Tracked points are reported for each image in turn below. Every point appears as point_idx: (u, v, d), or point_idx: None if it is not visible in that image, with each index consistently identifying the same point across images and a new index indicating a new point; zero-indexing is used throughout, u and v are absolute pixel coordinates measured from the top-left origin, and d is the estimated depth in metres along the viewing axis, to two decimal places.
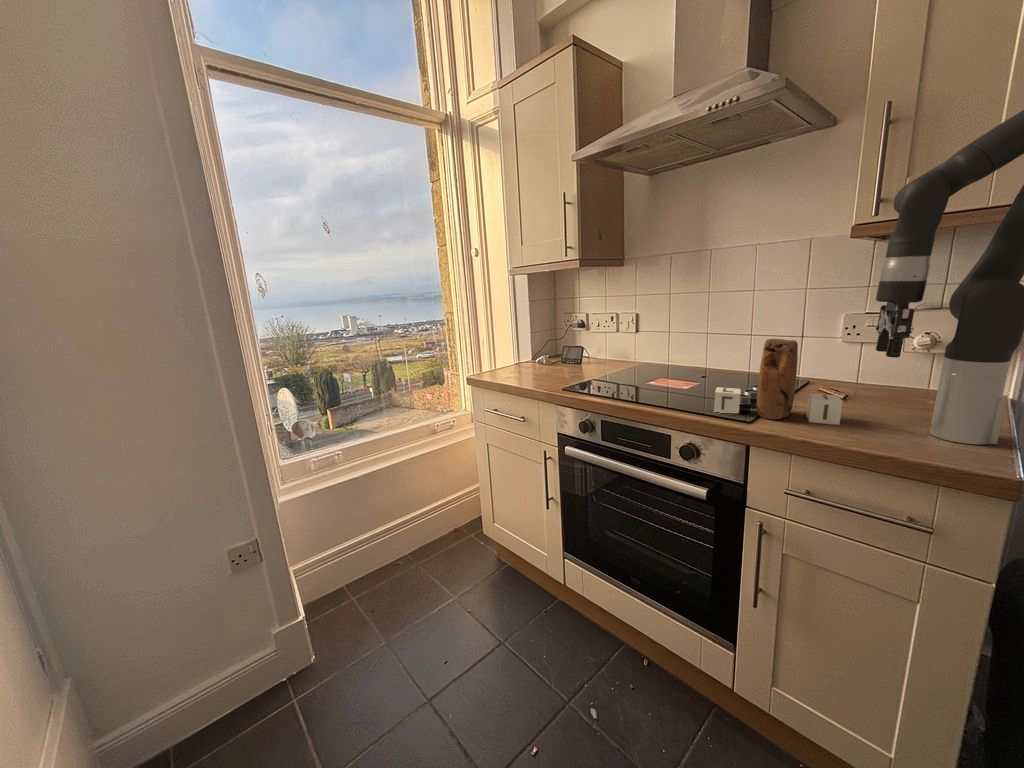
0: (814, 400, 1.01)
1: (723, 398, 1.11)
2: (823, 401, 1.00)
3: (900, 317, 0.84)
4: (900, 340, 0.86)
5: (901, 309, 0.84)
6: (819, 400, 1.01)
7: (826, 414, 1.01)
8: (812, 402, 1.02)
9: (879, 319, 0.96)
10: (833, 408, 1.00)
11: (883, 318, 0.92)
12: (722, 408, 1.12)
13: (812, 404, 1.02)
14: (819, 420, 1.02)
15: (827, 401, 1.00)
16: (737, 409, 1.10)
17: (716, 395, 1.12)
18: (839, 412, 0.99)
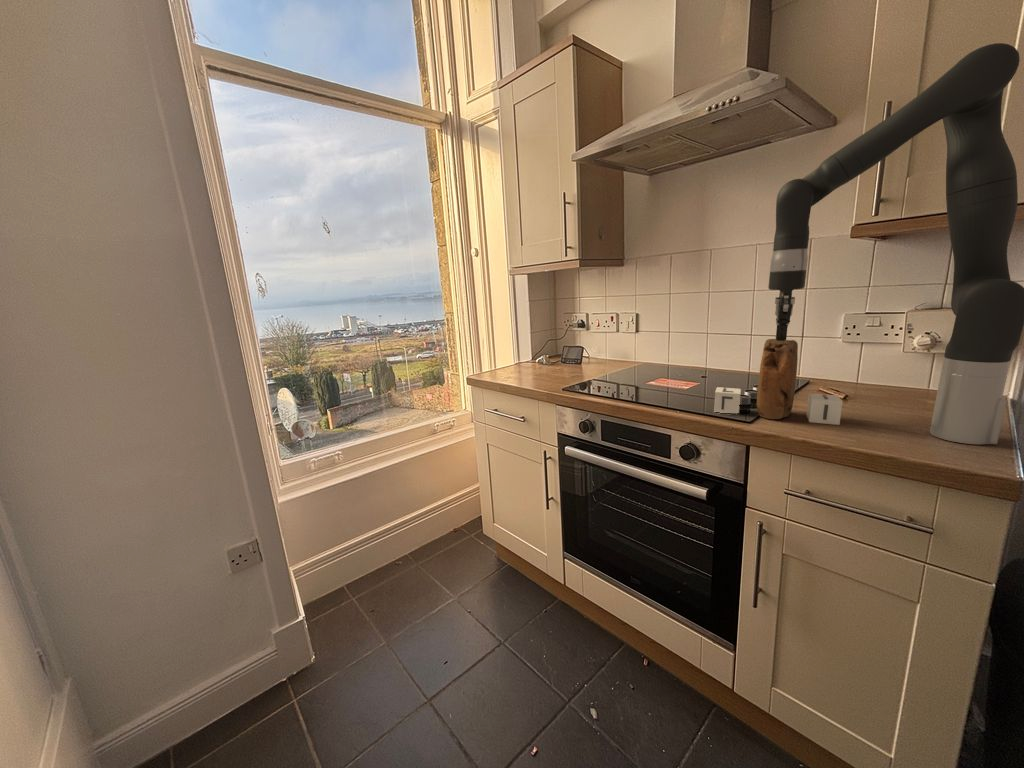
0: (814, 400, 1.01)
1: (723, 398, 1.11)
2: (823, 401, 1.00)
3: (781, 312, 0.99)
4: (784, 326, 1.02)
5: (782, 306, 0.98)
6: (819, 400, 1.01)
7: (826, 414, 1.01)
8: (812, 402, 1.02)
9: None
10: (833, 408, 1.00)
11: None
12: (722, 408, 1.12)
13: (812, 404, 1.02)
14: (819, 420, 1.02)
15: (827, 401, 1.00)
16: (737, 409, 1.10)
17: (716, 395, 1.12)
18: (839, 412, 0.99)
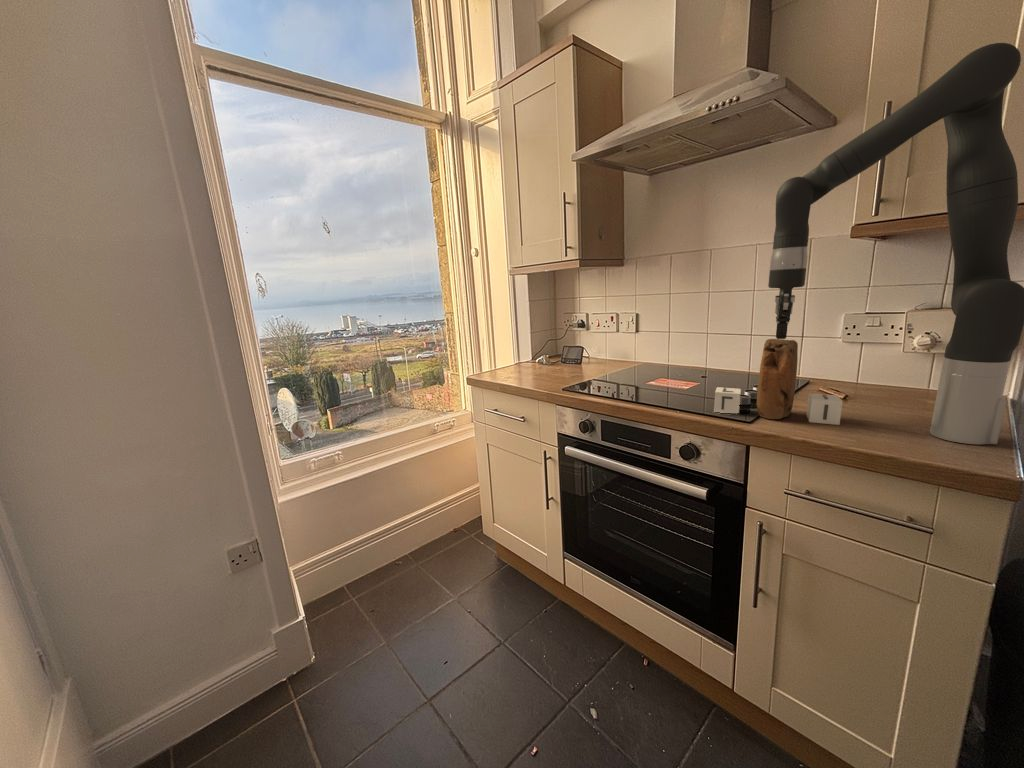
0: (814, 400, 1.01)
1: (723, 398, 1.11)
2: (823, 401, 1.00)
3: (781, 310, 0.99)
4: (784, 324, 1.02)
5: (782, 304, 0.98)
6: (819, 400, 1.01)
7: (826, 414, 1.01)
8: (812, 402, 1.02)
9: None
10: (833, 408, 1.00)
11: None
12: (722, 408, 1.12)
13: (812, 404, 1.02)
14: (819, 420, 1.02)
15: (827, 401, 1.00)
16: (737, 409, 1.10)
17: (716, 395, 1.12)
18: (839, 412, 0.99)
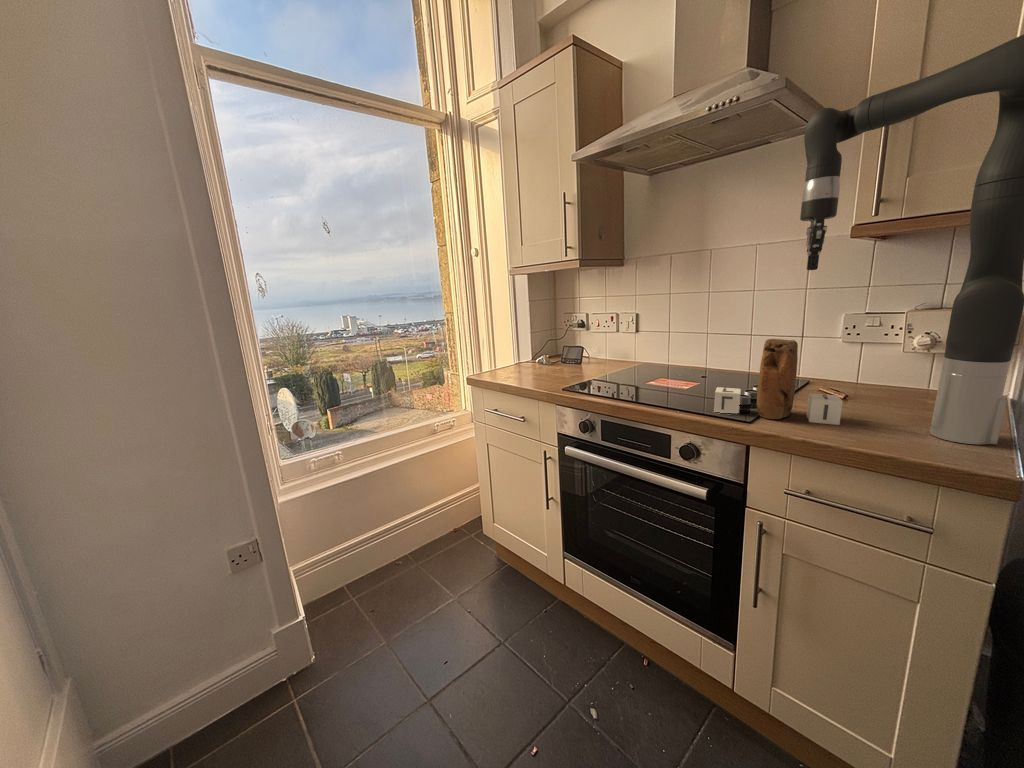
0: (814, 400, 1.01)
1: (723, 398, 1.11)
2: (823, 401, 1.00)
3: (814, 238, 1.02)
4: (816, 254, 1.06)
5: (815, 232, 1.01)
6: (819, 400, 1.01)
7: (826, 414, 1.01)
8: (812, 402, 1.02)
9: None
10: (833, 408, 1.00)
11: None
12: (722, 408, 1.12)
13: (812, 404, 1.02)
14: (819, 420, 1.02)
15: (827, 401, 1.00)
16: (737, 409, 1.10)
17: (716, 395, 1.12)
18: (839, 412, 0.99)
